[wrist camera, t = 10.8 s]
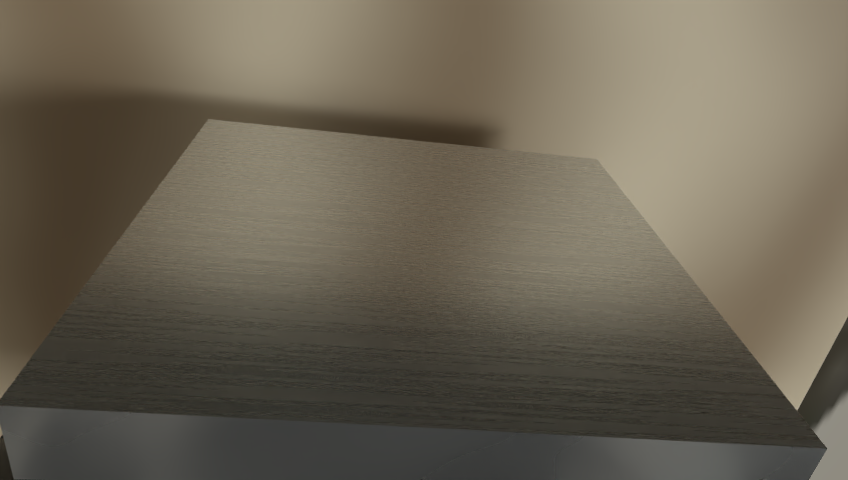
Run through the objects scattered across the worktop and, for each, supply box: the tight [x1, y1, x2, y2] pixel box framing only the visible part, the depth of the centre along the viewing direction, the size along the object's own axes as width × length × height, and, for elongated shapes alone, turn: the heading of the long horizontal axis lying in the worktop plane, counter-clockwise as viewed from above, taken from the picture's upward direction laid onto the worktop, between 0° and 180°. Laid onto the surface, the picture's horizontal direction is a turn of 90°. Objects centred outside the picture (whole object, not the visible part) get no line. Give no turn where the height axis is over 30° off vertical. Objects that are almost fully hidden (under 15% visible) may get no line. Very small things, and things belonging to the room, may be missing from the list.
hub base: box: [0, 0, 848, 437], centre depth 11 cm, size 20×14×8 cm
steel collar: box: [0, 119, 827, 480], centre depth 9 cm, size 6×6×6 cm
